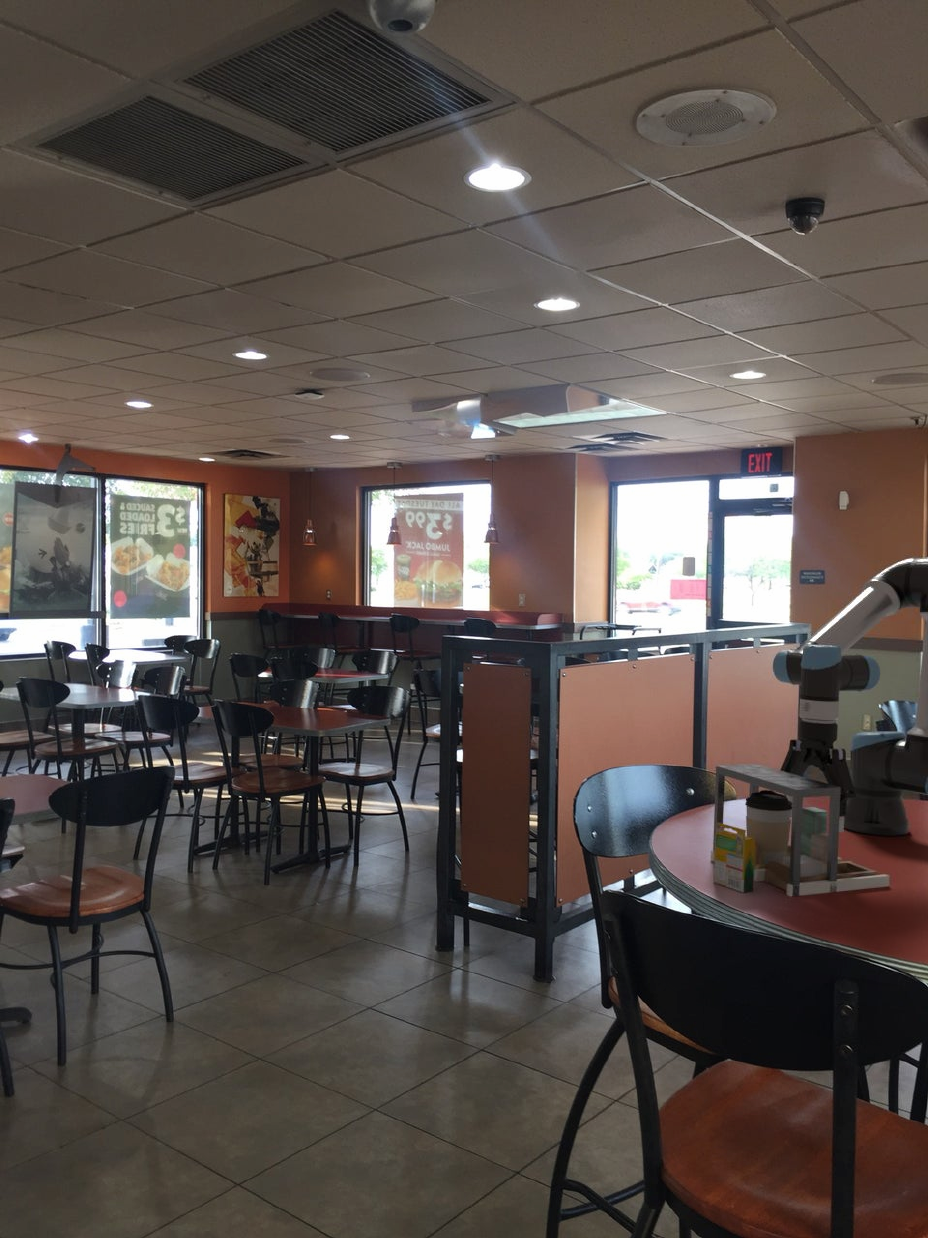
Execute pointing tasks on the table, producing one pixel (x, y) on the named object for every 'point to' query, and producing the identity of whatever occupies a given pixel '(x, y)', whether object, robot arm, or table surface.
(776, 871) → the sled
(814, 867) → the grey block
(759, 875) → the lane rails
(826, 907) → the table surface
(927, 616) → the robot arm
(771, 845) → the coffee cup
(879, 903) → the table surface
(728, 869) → the crayon box
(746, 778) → the shelf
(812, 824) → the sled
